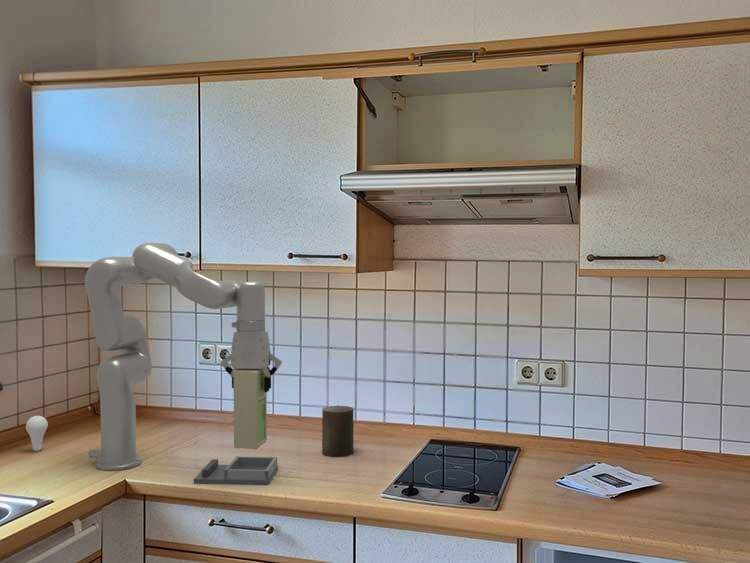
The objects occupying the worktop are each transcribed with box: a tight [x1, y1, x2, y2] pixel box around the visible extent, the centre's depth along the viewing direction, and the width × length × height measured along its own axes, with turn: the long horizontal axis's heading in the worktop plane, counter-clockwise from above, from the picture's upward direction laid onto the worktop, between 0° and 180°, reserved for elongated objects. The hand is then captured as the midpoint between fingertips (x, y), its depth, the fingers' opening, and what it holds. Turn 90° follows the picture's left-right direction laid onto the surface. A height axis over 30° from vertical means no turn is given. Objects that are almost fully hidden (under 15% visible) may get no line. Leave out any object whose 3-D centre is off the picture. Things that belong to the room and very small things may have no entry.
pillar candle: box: [321, 404, 355, 458], centre depth 214 cm, size 10×10×15 cm
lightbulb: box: [25, 415, 49, 452], centre depth 215 cm, size 6×6×11 cm
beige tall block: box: [233, 369, 268, 450], centre depth 189 cm, size 8×7×21 cm
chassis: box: [193, 455, 279, 486], centre depth 190 cm, size 20×13×4 cm, turn 87°
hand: (251, 390), depth 189 cm, fingers closed on beige tall block, 7 cm apart
